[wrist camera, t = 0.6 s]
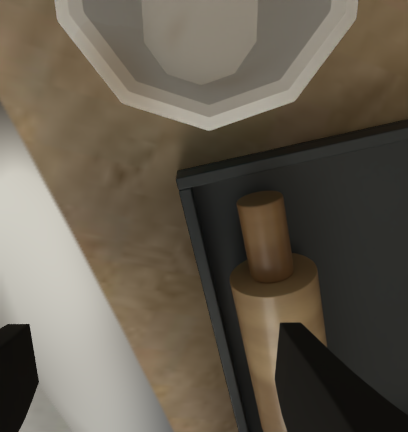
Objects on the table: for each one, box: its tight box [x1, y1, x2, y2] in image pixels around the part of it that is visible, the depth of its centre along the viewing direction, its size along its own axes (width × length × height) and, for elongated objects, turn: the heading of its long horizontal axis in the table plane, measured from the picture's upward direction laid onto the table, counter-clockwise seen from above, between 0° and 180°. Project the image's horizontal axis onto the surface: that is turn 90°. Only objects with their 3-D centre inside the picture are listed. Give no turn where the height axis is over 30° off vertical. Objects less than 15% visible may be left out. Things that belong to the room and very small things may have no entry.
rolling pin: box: [230, 191, 327, 432], centre depth 20 cm, size 18×4×4 cm, turn 12°
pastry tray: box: [176, 119, 408, 432], centre depth 21 cm, size 21×15×2 cm
